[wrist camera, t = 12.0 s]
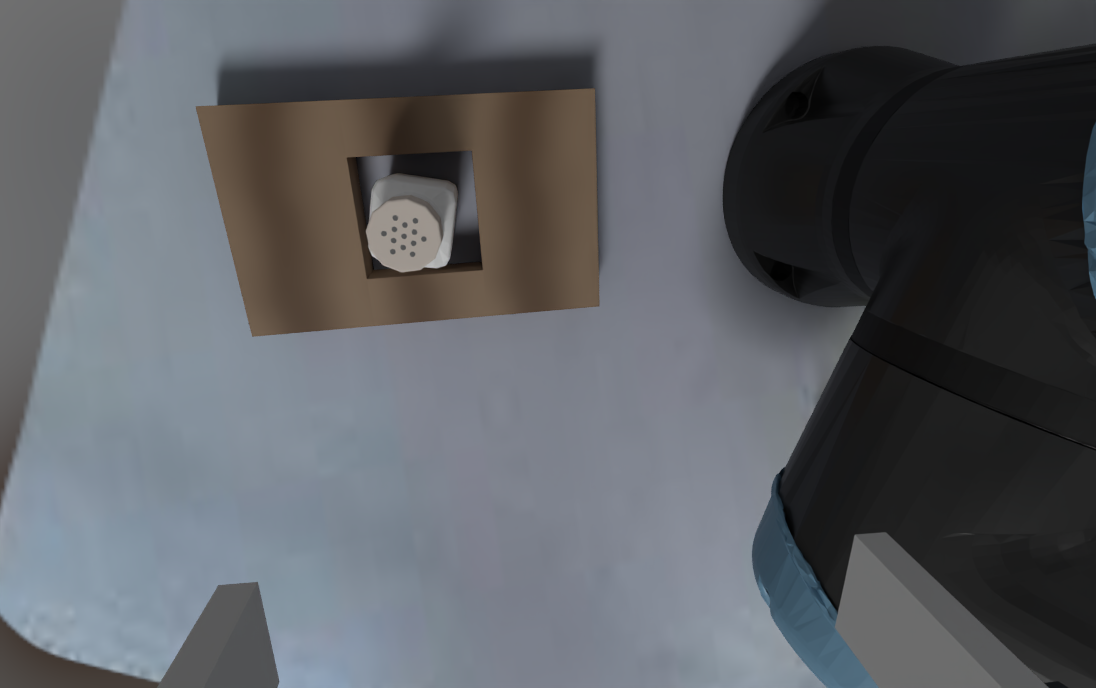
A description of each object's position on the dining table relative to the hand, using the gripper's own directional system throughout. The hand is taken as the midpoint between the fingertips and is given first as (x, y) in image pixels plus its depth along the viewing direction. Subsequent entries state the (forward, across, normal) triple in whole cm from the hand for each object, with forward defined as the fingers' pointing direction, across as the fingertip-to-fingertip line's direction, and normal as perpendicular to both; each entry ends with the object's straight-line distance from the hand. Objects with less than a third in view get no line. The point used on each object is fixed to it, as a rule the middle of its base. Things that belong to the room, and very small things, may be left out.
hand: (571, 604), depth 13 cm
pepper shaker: (+25, +5, -6) cm, 26 cm away
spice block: (+25, +5, -6) cm, 26 cm away
